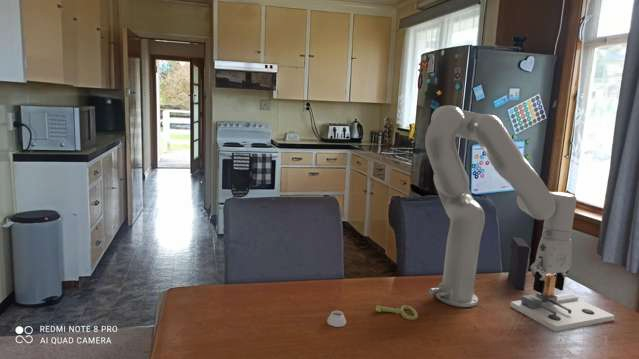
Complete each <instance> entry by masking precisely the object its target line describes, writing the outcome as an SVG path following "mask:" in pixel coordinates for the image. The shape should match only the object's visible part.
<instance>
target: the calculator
mask: <svg viewBox="0 0 639 359" xmlns="http://www.w3.org/2000/svg"><path fill="white" fill-rule="evenodd" d="M510 249H511V254H510V260H509V270H508V273H507V274H508V275H507V276H508V280H509V281H510V283H511V285H512V286H513V288H514V289H516V290H524V289H526V287H527V286H526V285H527V280H528V272H529V268H530V266H529V265H530V255H531V247H530V246H529V244H528V243H527V242H526V241H525V239H523V238H522V237H521V238H520V237H511V241H510Z"/></svg>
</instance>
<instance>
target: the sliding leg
mask: <svg viewBox="0 0 639 359" xmlns="http://www.w3.org/2000/svg"><path fill="white" fill-rule="evenodd" d="M554 275H555V274H548V273H547V274H546V276H545V278H544V281H545V284H544V291H543V293H539V292H536V295H535V296H536V297H538V298H540V299H542V300H543V301H544V302H546V303H553V304H555V305H557V306H559V307H561V308H563V309H565V310H567V311H568V313H569V314H571V309H569V308H567V307H565V306H563V305H560V304H558V303H556V302H557V296H554V294H555V293H554V292H555V289H556V288H555V282H556V276H554Z"/></svg>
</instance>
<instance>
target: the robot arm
mask: <svg viewBox="0 0 639 359" xmlns="http://www.w3.org/2000/svg"><path fill="white" fill-rule="evenodd" d="M430 117H431V118H430V124H429V125H428V127H427V130H426V133H425V137H424V138H425V140H424V147H425V151H426V154H427V157H428V159H429V163H430V166H431V169H432V170H433V171H432V172H433V183H434V187H435V189H436V191H437V194H438V196H439V199H440V200H441V204H442V207H443V208H444V211H445V213H446V215H447V217H448V218H449V219H450V221H449V228H448V234H447V238H446V239H447V240H446V247H445V256H444V265H443V274H442V282H439V285H438V286H437V287H429V288H428V294H429V295H435V297H436V298H437V299H438V300H439V301H441V302H442V303H444V304H447V305H449V306H454V307H457V308H458V307H460V308H471V307H475V306H477V305H478V303H479V297H478V296H477V295H476V294H475V293H474V292H475V291H474V290H475V283H476V276H477V269H478V261H479V254H480V253H479V252H480V246H481V239H482V235H483V231H484V228H485V224H486V223H485V222H486V216H485V211H484V209H483V207H482V206H481V205H480V204H479V202H477V200H475V199H474V198H473V195H472V193H471V190H470V178H469V175H468V173H467V172H466V169H465V167H464V165H463V162H462V159H461V158H460V154H459V151H458V149H457V146H456V138H462V139H465V140H470V141H475V142H477V143H478V145H479V146H480V148H481V150H483V152H484V154H485V156H486V157H487V159H488V160H489V163H490V164H491V165H492V167H493V168H494V170H495V171H496V172H497V174H498V175H499V176H500V177H501V178H502V179H503V180H504V181H506V183H508V184H509V185H510V186H511V188H512V189H513V191H514V192H515V193H516V194H517V196H516V204H517V206H518V208H519V209H520V210H521V211H522V212H524V213H526V214H527V215H529V216H530V217H532V218H533V219H535V220H537V221H543V228H542V232H541V233H542V234H541V237H540V240H539V243H538V245H537V246H538V247H537V250H536V255H535V261H534V262H533V263H532V264H531V265H530V266H529V270H530V271H531V274H532V275H533V277H532V278H534V281H533V286H532V290H533V291H535V292H536V293H543V291H544V284H545V281H544V278H545V276H546V274H551V275H554V276H556V282H555V288H554V289H556V290H559V291H563V290H564V284H565V279H566V278H567V276H568V275H567V274H568V273H569V272H570V269H571V267H572V266H573V262H572V255H573V243H572V241H573V240H572V239H571V238H572V231H573V224H574V220H575V218H574V217H575V211H576V206H577V197H576V196H575V195H574V194H572V193H569V192H563V191H562V192H561V191H550V190H549V188H548V187H547V185H546V184H545V182H544V181H543V180H542V178H541V177H540V176H539V174H538V173H537V172H536V170H535V169H534V168H533V167H532V166H531V164H530V163H529V161H528V160H527V159H526V158H525V156H524V155H523V153H522V152H521V150H520V149H519V148H518V146H517V144H516V142H515V141H514V140H513V137H512V136H511V134H510V133H509V132H508V130H507V128H506V127H505V125H504V124H503V122H502V121H501V119H500V118H499V117H497V116H496V115H494V114H486V113H478V112H474V111H473V112H472V111H469V110H464V109H461V108H460V107H458V106H455V105H448V104H447V105H441V106H439V107H437V108H436V109H434V111H433V112H432V114H431V116H430ZM541 272H542V273H541Z"/></svg>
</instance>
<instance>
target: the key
mask: <svg viewBox="0 0 639 359" xmlns="http://www.w3.org/2000/svg"><path fill="white" fill-rule="evenodd" d="M374 310H375V311H376V313H377V312H379V313H381V312H385V313H386V312H387V313H391V314H392V313H393V314H394V313H395V314H396V315H399V314H400V315H401V316H402V317H403V318H404V319H407V320H412V321H414V320H417V319H418V318H419V314H418V312H417V311H416V309H415V308H413V307H412V306H411V305H407V304H405V305H401V307H400V308H399V307H397V308H393V307H388V306H381V305H375V306H374ZM405 310H410V311H411V312H412V313H413V316H412V315H409V314H407V313H406V312H405Z"/></svg>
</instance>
